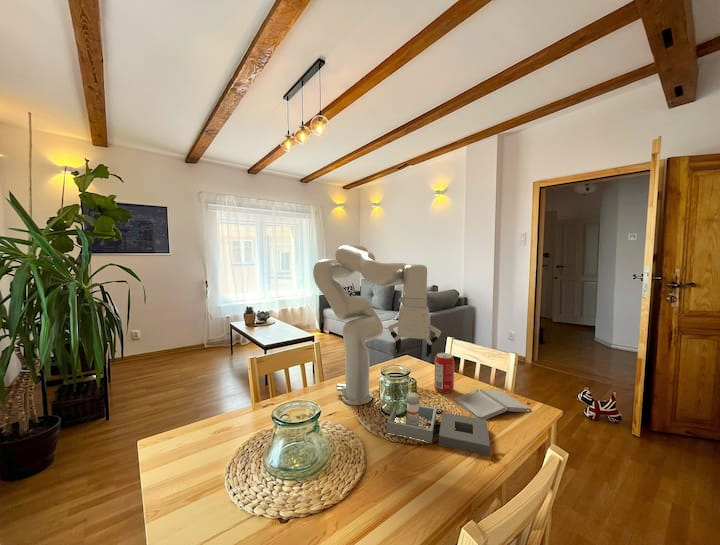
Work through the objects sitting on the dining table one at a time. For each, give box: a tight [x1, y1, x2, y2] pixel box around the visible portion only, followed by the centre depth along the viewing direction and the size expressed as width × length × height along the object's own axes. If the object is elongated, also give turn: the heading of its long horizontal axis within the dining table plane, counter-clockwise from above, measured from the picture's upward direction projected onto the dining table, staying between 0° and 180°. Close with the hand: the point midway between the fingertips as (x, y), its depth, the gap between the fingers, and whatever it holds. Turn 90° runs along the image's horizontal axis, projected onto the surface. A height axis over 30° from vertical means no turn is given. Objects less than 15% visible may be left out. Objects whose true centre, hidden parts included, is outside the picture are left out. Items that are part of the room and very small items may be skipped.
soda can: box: [433, 352, 455, 394], centre depth 125 cm, size 8×8×15 cm
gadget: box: [454, 388, 532, 420], centre depth 112 cm, size 23×15×4 cm, turn 107°
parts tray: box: [386, 404, 437, 444], centre depth 98 cm, size 14×14×4 cm
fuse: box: [405, 392, 420, 427], centre depth 98 cm, size 4×4×10 cm
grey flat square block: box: [438, 411, 491, 457], centre depth 93 cm, size 14×14×3 cm
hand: (413, 353), depth 98 cm, fingers open, 9 cm apart
